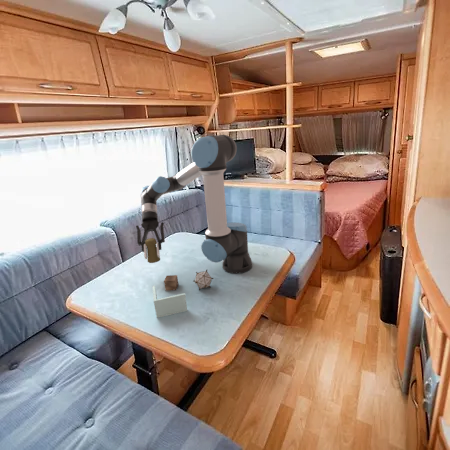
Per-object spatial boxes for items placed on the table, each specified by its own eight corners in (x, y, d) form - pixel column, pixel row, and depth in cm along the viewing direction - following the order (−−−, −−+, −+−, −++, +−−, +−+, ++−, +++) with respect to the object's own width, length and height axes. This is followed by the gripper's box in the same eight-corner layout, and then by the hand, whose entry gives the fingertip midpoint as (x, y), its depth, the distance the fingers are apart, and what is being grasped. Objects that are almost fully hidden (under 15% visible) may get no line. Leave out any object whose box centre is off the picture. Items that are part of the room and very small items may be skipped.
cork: (153, 263, 134) (150, 242, 130) (144, 261, 137) (140, 240, 134) (162, 258, 139) (159, 237, 135) (154, 256, 142) (150, 236, 138)
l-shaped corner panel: (187, 310, 113) (185, 294, 111) (156, 317, 110) (153, 301, 108) (183, 295, 124) (180, 280, 122) (155, 301, 121) (152, 286, 119)
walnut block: (178, 284, 133) (177, 275, 132) (176, 290, 129) (175, 280, 127) (167, 285, 134) (166, 275, 132) (165, 290, 129) (163, 281, 127)
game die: (207, 296, 129) (209, 287, 121) (190, 289, 129) (190, 280, 121) (214, 279, 134) (216, 269, 126) (197, 273, 135) (198, 263, 127)
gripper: (168, 215, 148) (172, 257, 138) (133, 220, 146) (134, 262, 136) (166, 208, 141) (170, 251, 131) (129, 212, 139) (130, 256, 129)
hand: (152, 256), depth 133 cm, fingers closed on cork, 5 cm apart
